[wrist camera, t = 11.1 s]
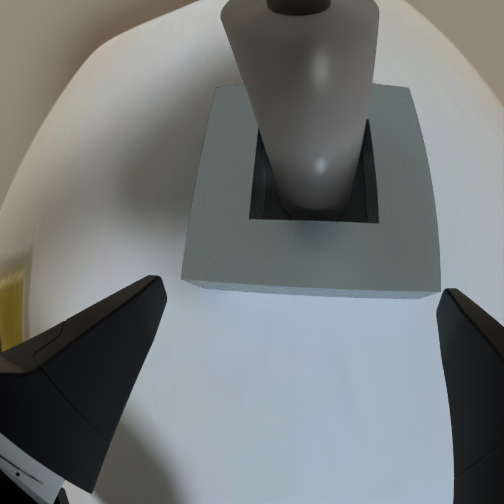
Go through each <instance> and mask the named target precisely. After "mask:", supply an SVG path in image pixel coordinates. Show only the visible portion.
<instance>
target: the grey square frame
mask: <svg viewBox="0 0 504 504" xmlns="http://www.w3.org/2000/svg"><path fill="white" fill-rule="evenodd" d="M361 151H363V160H364V172H365V185H366V202H367V223H357V222H332V221H302V220H263V212H264V200H265V188H266V176H267V164H268V156H267V153H266V149H265V146H264V143H263V140H262V137H261V133H260V130H259V127H258V124H257V121H256V118H255V115H254V112H253V109H252V106H251V103H250V100H249V97H248V94H247V91H246V88H245V85H244V84H243V85H233V86H224V87H216V90H215V94H214V99H213V103H212V107H211V111H210V116H209V120H208V125H207V129H206V134H205V139H204V143H203V148H202V153H201V158H200V163H199V168H198V173H197V179H196V184H195V190H194V195H193V201H192V207H191V213H190V219H189V225H188V231H187V238H186V245H185V251H184V258H183V266H182V273H181V280H184V281H187V282H189V283H192V284H195V285H197V286H200V287H203V288H207V289H219V290H232V291H245V292H259V293H274V294H291V295H310V296H331V297H357V298H394V299H419V298H422V297H426V296H429V295H432V294H435V293H438V292H441V271H440V250H439V236H438V225H437V216H436V207H435V200H434V193H433V186H432V180H431V175H430V169H429V164H428V159H427V154H426V149H425V145H424V140H423V136H422V132H421V128H420V124H419V120H418V117H417V113H416V110H415V106H414V103H413V99H412V96H411V93H410V90H409V88H406V87H399V86H390V85H381V84H372V87H371V93H370V100H369V106H368V113H367V118H366V124H365V130H364V135H363V141H362V146H361Z"/></svg>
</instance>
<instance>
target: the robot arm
mask: <svg viewBox="0 0 504 504" xmlns="http://www.w3.org/2000/svg"><path fill="white" fill-rule="evenodd" d="M166 303H167V294H166V291H165V288H164V285H163V281H162V279H161V277H160V276H155V275H148V276H146V277H144V278H142V279H140V280H138V281H136V282H135V283H133V284H131V285H129V286H127V287H125V288H123V289H122V290H120V291H118V292H116V293H114V294H112V295H110V296H109V297H107V298H105V299H103V300H101V301H99V302H97V303H96V304H94V305H92V306H90V307H88V308H87V309H85V310H83V311H81V312H79V313H77V314H76V315H74V316H72V317H70V318H68V319H67V320H66V321H63V322H61V323H59V324H58V325H56V326H54V327H52V328H50V329H49V330H47V331H45V332H43V333H41V334H39V335H37V336H35V337H33V338H31V339H29V340H27V341H25V342H23V343H21V344H19V345H16V346H14V347H12V348H10V349H8V350H6V351H3V352H0V504H69V502H68V499H67V495H66V492H65V489H64V488H62V485H63V483H64V481H65V480H67V481H68V482H70V483H72V484H74V485H75V486H77V487H79V488H81V489H83V490H84V491H86V492H88V493H90V494H92V492H93V489H94V487H95V484H96V481H97V478H98V475H99V473H100V470H101V467H102V464H103V462H104V459H105V456H106V454H107V451H108V448H109V446H110V443H111V440H112V438H113V435H114V433H115V430H116V428H117V425H118V423H119V420H120V418H121V415H122V413H123V410H124V408H125V405H126V403H127V401H128V398H129V396H130V393H131V391H132V389H133V386H134V384H135V382H136V379H137V377H138V375H139V372H140V370H141V368H142V365H143V363H144V361H145V359H146V356H147V354H148V352H149V350H150V348H151V345H152V343H153V341H154V338H155V335H156V332H157V329H158V326H159V323H160V320H161V317H162V314H163V312H164V309H165V306H166ZM436 317H437V324H438V332H439V341H440V350H441V358H442V364H443V369H444V375H445V381H446V387H447V393H448V401H449V408H450V417H451V426H452V438H453V455H454V499H453V504H504V327H503V326H502V325H501V324H500V323H499V322H498V321H496V320H495V319H494V318H493V317H492V316H490V315H489V314H488V313H487V312H486V311H484V310H483V309H482V308H481V307H479V306H478V305H477V304H476V303H474V302H473V301H472V300H471V299H469V298H468V297H467V296H466V295H464V294H463V293H462V292H460V291H459V290H458V289H456V288H446V289H445V290H444V291H443V293H442V296H441V299H440V302H439V305H438V308H437V312H436Z"/></svg>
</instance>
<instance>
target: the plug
mask: <svg viewBox="0 0 504 504" xmlns="http://www.w3.org/2000/svg"><path fill="white" fill-rule="evenodd" d="M221 21H222V23H223V26H224V29H225V31H226V34H227V37H228V40H229V42H230V45H231V48H232V51H233V53H234V56H235V59H236V62H237V65H238V68H239V70H240V73H241V76H242V79H243V82H244V85H245V88H246V91H247V94H248V97H249V100H250V103H251V106H252V109H253V112H254V115H255V118H256V121H257V124H258V127H259V130H260V133H261V137H262V140H263V143H264V146H265V149H266V153H267V156H268V159H269V162H270V166H271V169H272V172H273V176H274V179H275V182H276V186H277V189H278V192H279V196H280V199H281V203H282V205H283V207H284V209H285V211H286V212H287V213H288V215H290V216H291V217H292V218H293V219H294V220H302V221H332V222H334V221H336V220H337V219H339V218H340V217H341V216H342V215H343V214H344V212H345V211H346V209H347V208H348V205H349V202H350V198H351V193H352V189H353V184H354V180H355V175H356V171H357V166H358V161H359V156H360V151H361V146H362V141H363V135H364V130H365V124H366V118H367V113H368V106H369V100H370V93H371V87H372V79H373V72H374V64H375V55H376V46H377V36H378V24H379V8H378V6H377V4H376V3H375V2H374V1H373V0H230V1H228V2H227V4H226V5H225V6H224V7H223V9H222V11H221Z"/></svg>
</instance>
